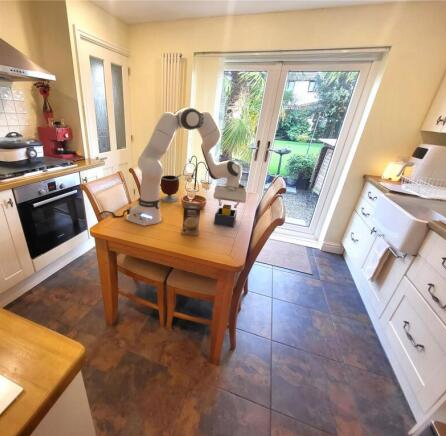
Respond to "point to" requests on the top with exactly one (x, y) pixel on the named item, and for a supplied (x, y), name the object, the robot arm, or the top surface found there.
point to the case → (225, 218)
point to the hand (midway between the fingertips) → (227, 206)
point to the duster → (226, 210)
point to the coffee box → (191, 219)
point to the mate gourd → (169, 187)
